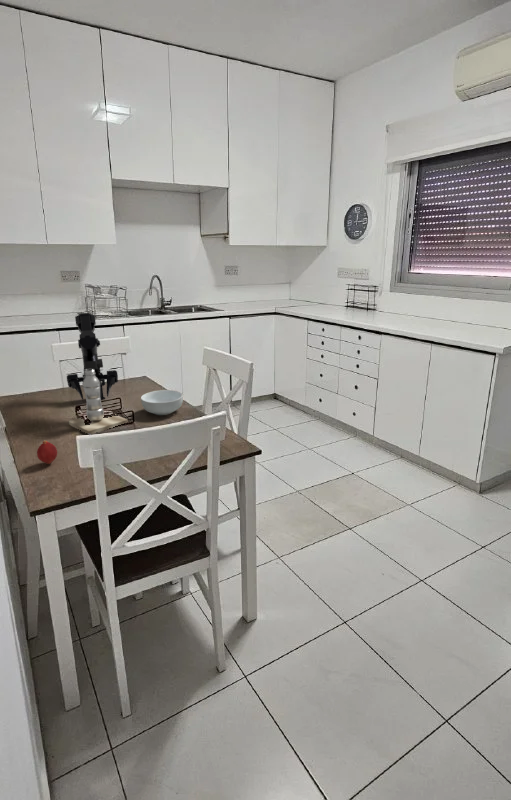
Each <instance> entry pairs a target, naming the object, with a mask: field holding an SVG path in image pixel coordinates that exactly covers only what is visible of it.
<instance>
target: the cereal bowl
mask: <svg viewBox="0 0 511 800" xmlns="http://www.w3.org/2000/svg"><path fill="white" fill-rule="evenodd" d="M183 399H184V396H183V393H182V392H180V391H178V390H173V389H162V390H159V389H158V390H154V391H150V392H147V393H144V394H142V395H141V397H140V402H141V405H142V407H143V409H144V410H145V411H147V412H149V413H150V414H154V415H155V416H166V415H171V414H172V413H173V412H176V411H178V409H180V408H181V406H182V405H183V401H184V400H183Z"/></svg>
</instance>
